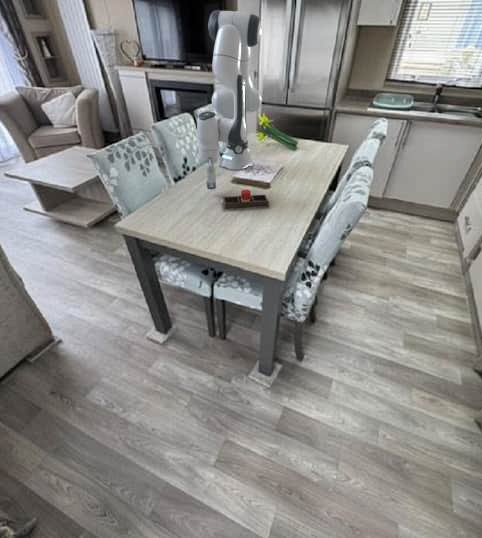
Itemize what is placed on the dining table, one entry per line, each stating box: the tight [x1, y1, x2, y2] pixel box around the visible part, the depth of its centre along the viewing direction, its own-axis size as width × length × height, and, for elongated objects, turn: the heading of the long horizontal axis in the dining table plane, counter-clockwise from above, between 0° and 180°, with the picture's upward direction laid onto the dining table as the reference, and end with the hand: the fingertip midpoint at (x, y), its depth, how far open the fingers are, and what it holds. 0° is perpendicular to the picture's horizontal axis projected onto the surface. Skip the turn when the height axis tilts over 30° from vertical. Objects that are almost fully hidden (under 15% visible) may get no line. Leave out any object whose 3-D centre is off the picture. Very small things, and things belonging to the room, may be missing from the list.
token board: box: [222, 194, 269, 210], centre depth 135 cm, size 7×20×3 cm, turn 99°
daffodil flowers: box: [254, 112, 300, 151], centre depth 202 cm, size 17×15×35 cm
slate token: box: [206, 180, 217, 190], centre depth 139 cm, size 4×4×3 cm
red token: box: [240, 189, 252, 200], centre depth 132 cm, size 4×4×3 cm
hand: (211, 184), depth 139 cm, fingers closed on slate token, 4 cm apart
